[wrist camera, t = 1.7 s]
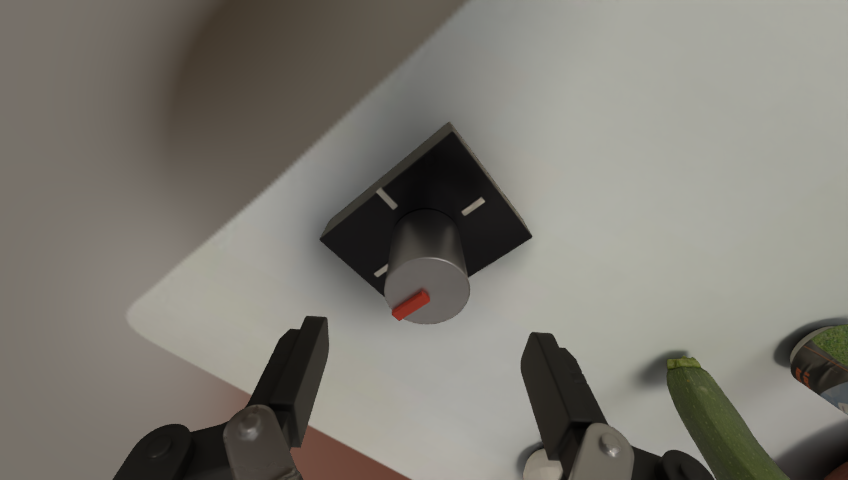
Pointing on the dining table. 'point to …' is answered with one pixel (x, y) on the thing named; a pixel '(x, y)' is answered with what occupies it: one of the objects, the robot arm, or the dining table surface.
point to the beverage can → (824, 364)
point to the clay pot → (839, 473)
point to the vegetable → (717, 425)
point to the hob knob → (426, 269)
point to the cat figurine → (541, 467)
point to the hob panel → (428, 189)
